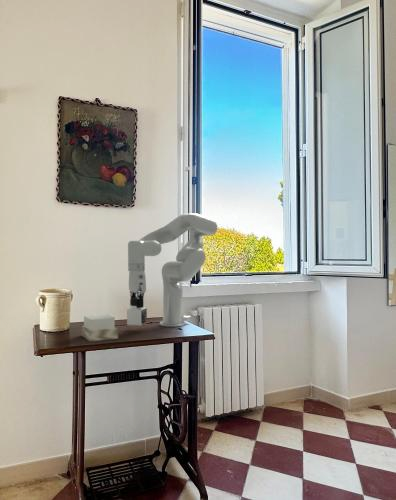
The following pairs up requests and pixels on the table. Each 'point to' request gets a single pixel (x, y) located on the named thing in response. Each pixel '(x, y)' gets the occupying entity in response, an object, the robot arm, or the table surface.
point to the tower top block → (99, 322)
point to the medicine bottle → (136, 314)
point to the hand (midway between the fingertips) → (136, 306)
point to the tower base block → (99, 334)
